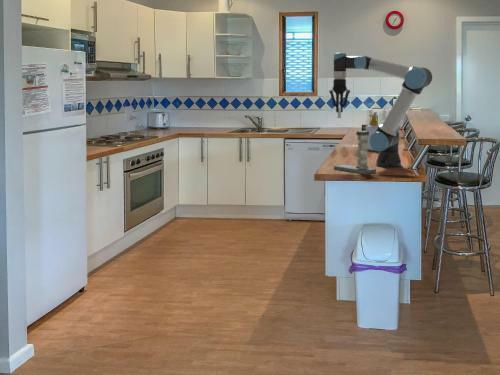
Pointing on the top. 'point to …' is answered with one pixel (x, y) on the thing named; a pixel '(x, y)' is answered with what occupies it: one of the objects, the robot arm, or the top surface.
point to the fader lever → (362, 149)
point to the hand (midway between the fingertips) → (339, 117)
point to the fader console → (354, 169)
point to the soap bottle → (371, 130)
